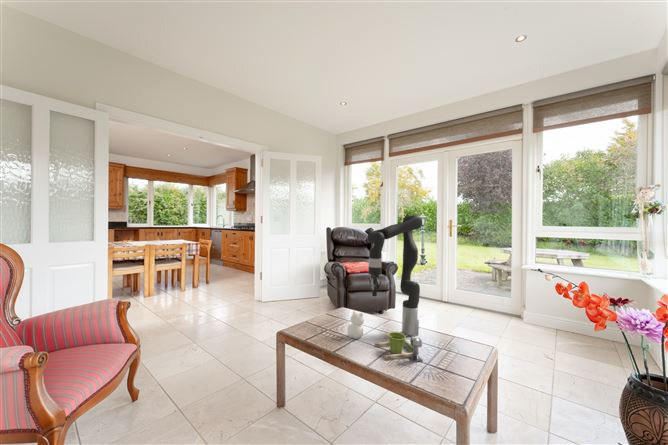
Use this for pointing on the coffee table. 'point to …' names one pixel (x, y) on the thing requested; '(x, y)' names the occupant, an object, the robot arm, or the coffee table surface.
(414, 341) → the winch post
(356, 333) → the cat figurine
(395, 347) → the plant pot
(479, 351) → the coffee table surface
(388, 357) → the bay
